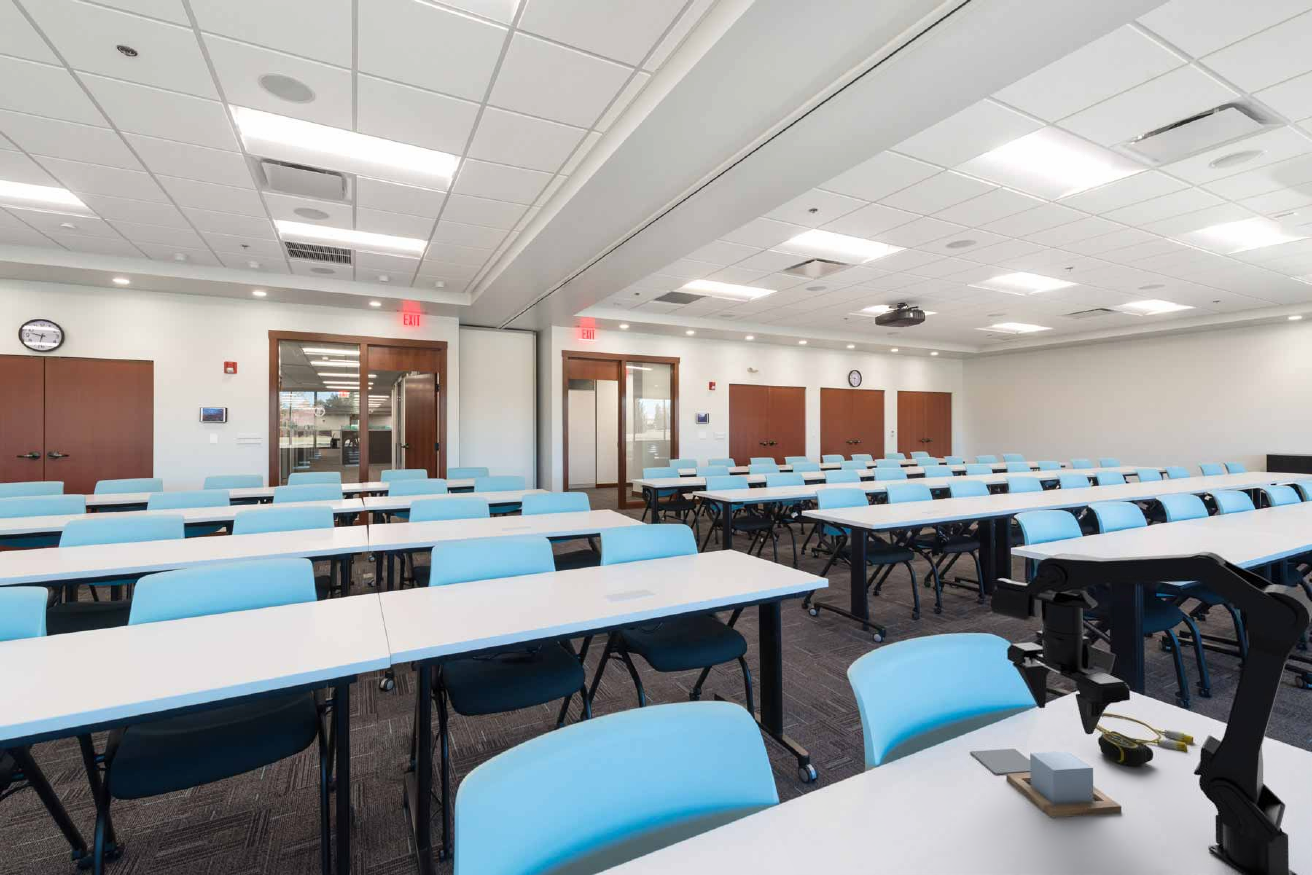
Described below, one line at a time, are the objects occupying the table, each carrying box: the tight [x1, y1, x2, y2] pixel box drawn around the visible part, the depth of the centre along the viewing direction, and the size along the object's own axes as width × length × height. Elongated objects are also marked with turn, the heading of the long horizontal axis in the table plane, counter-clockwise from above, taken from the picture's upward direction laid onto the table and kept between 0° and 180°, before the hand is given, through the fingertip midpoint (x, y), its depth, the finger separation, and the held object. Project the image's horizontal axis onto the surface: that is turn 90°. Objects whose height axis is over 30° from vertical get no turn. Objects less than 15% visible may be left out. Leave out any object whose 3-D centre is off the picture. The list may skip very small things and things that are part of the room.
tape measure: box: [1097, 730, 1154, 767], centre depth 105 cm, size 7×7×4 cm
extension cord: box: [1095, 712, 1194, 752], centre depth 114 cm, size 12×16×2 cm
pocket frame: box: [1006, 772, 1122, 818], centre depth 94 cm, size 10×12×1 cm
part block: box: [1029, 750, 1094, 804], centre depth 94 cm, size 5×7×6 cm
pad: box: [969, 748, 1030, 776], centre depth 104 cm, size 7×9×1 cm
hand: (1064, 719), depth 96 cm, fingers open, 9 cm apart
